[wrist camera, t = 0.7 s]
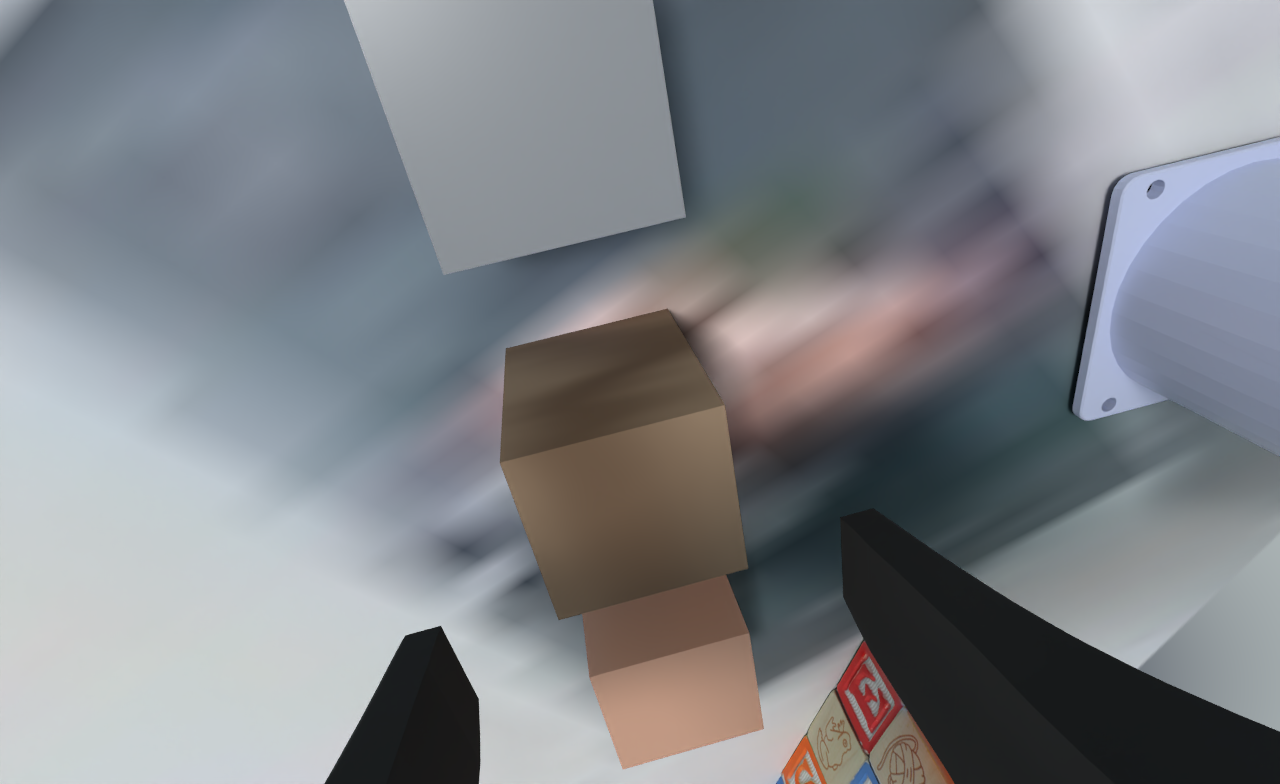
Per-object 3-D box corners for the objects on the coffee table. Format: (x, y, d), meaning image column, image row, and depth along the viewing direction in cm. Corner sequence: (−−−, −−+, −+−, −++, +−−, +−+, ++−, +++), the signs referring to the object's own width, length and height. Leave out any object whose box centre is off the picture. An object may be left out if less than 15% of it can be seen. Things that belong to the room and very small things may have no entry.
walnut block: (667, 308, 17) (724, 404, 12) (691, 442, 19) (748, 568, 14) (506, 347, 17) (500, 462, 12) (549, 478, 19) (558, 620, 14)
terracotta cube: (706, 525, 21) (749, 632, 17) (722, 615, 23) (763, 728, 19) (576, 560, 21) (589, 677, 17) (605, 648, 23) (622, 769, 19)
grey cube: (603, -42, 13) (639, -85, 9) (643, 177, 15) (685, 216, 11) (392, 4, 13) (336, -22, 9) (463, 219, 15) (444, 274, 11)
